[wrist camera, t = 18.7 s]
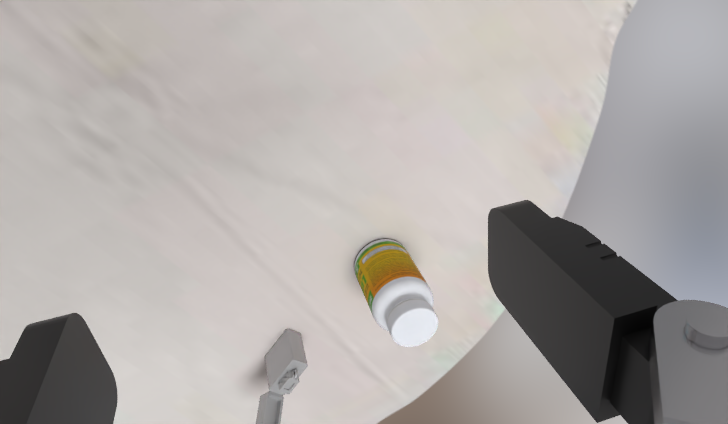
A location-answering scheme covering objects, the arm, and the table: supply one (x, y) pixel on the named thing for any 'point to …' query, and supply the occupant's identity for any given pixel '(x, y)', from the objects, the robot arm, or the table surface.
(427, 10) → the table surface
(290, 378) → the lighter
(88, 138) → the table surface
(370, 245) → the supplement bottle
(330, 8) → the table surface
